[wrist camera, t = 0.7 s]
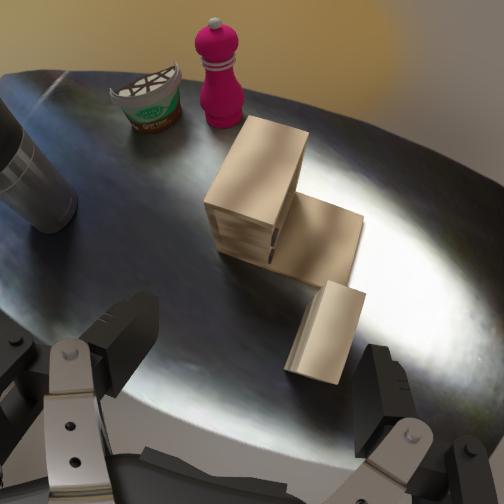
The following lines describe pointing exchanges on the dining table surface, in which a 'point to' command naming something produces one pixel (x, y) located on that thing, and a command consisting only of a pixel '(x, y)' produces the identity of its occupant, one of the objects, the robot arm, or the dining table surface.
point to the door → (326, 333)
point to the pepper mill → (219, 75)
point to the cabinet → (278, 209)
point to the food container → (151, 100)
